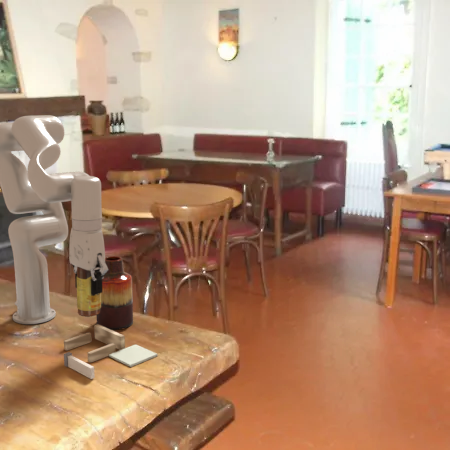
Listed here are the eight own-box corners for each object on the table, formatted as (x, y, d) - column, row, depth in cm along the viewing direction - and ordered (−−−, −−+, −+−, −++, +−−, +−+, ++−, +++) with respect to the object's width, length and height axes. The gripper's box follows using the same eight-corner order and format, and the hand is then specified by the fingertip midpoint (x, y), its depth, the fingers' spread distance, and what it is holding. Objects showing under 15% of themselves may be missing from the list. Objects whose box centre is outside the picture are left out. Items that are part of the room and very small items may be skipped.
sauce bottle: (95, 319, 156) (93, 246, 151) (73, 316, 157) (71, 244, 152) (105, 309, 162) (104, 239, 157) (83, 307, 163) (82, 237, 159)
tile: (109, 356, 157) (108, 354, 157) (135, 346, 164) (135, 344, 164) (130, 367, 152) (130, 364, 151) (157, 356, 158) (157, 353, 158)
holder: (64, 349, 162) (63, 335, 161) (98, 337, 170) (97, 324, 169) (90, 362, 154) (89, 348, 153) (124, 349, 162) (124, 335, 161)
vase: (140, 321, 182) (138, 257, 177) (116, 333, 173) (113, 265, 168) (114, 314, 187) (111, 251, 183) (89, 325, 178) (86, 259, 174)
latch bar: (64, 365, 151) (63, 353, 151) (69, 363, 153) (69, 351, 152) (90, 379, 144) (89, 367, 144) (95, 377, 145) (95, 365, 145)
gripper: (55, 220, 157) (58, 285, 161) (95, 233, 145) (96, 302, 150) (79, 216, 162) (81, 279, 166) (119, 228, 151) (120, 295, 155)
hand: (88, 289), depth 158 cm, fingers closed on sauce bottle, 6 cm apart
